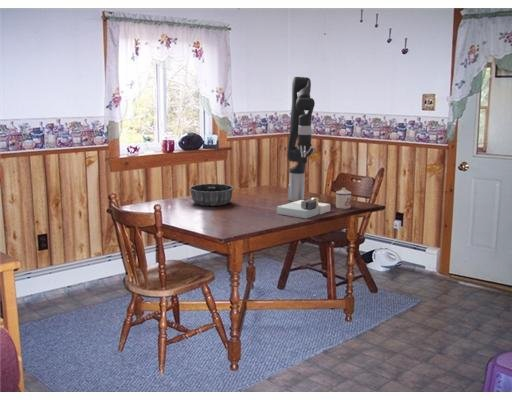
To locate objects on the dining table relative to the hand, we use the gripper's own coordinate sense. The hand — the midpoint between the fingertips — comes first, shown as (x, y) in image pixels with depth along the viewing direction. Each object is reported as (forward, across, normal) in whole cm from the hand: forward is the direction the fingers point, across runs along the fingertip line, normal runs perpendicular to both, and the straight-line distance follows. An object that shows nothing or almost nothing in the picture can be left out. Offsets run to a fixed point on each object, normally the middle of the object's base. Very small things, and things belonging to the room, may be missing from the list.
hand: (304, 163), depth 355 cm
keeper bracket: (+22, +14, -15) cm, 30 cm away
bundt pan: (+26, -51, -22) cm, 62 cm away
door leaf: (+26, +5, -16) cm, 31 cm away
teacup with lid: (+27, +17, +18) cm, 36 cm away
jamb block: (+26, +6, -3) cm, 27 cm away
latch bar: (+21, +11, -11) cm, 27 cm away
